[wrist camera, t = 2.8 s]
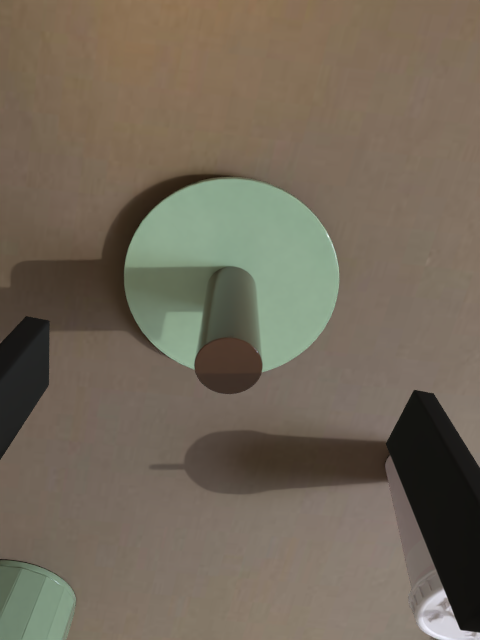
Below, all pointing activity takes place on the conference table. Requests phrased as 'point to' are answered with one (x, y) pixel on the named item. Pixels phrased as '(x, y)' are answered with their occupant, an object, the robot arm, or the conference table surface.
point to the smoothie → (422, 571)
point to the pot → (33, 603)
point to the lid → (231, 279)
